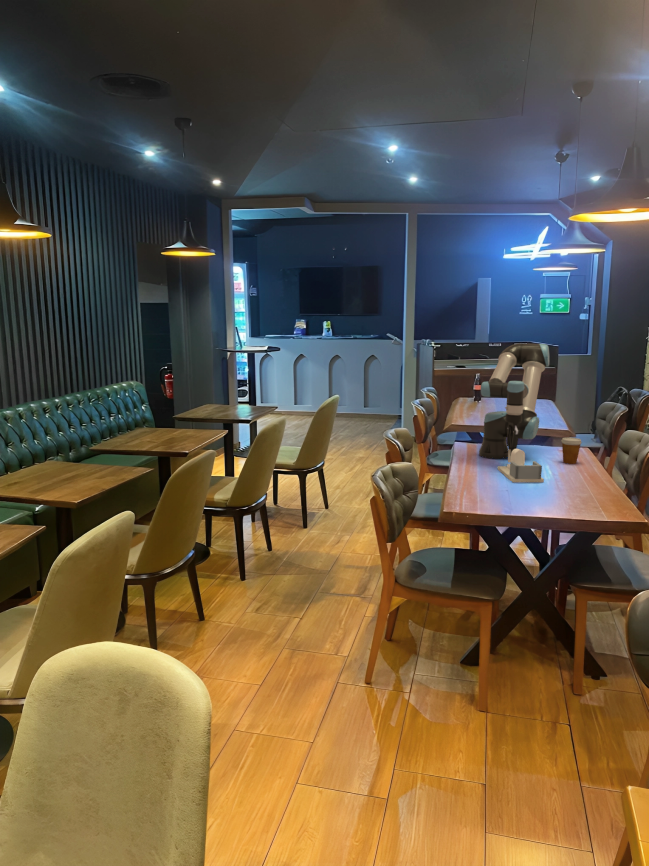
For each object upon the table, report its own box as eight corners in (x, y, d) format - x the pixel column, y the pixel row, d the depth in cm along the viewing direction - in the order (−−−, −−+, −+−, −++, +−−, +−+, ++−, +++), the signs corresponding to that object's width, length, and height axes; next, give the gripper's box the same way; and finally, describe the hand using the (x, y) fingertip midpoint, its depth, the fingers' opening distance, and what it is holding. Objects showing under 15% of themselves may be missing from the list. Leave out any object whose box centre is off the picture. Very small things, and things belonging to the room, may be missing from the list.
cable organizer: (516, 467, 296) (517, 446, 294) (528, 472, 287) (529, 451, 285) (506, 468, 295) (507, 447, 293) (518, 473, 286) (519, 452, 284)
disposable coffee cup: (578, 460, 315) (580, 437, 313) (581, 465, 306) (583, 441, 304) (558, 459, 318) (560, 436, 315) (560, 464, 309) (562, 440, 306)
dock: (497, 469, 299) (498, 454, 297) (526, 469, 299) (527, 454, 297) (512, 482, 276) (513, 465, 275) (543, 482, 276) (544, 465, 275)
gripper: (502, 411, 302) (499, 459, 306) (510, 415, 289) (507, 465, 294) (517, 411, 302) (514, 459, 306) (526, 416, 289) (523, 465, 294)
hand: (510, 462), depth 300 cm, fingers closed
